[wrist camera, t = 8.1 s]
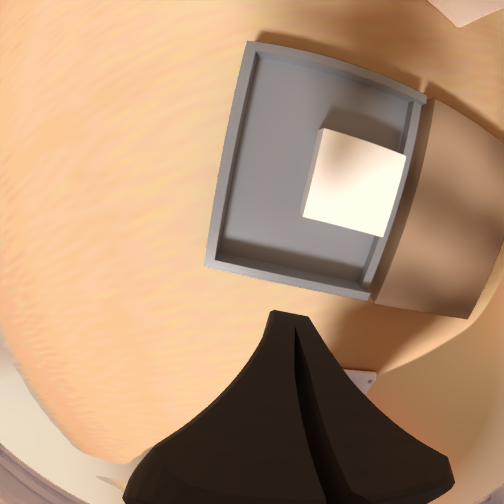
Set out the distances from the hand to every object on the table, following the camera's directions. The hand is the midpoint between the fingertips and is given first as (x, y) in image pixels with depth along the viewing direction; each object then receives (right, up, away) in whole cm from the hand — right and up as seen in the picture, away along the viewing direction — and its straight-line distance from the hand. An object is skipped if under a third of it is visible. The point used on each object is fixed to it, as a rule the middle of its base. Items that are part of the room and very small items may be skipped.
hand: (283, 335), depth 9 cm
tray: (+3, +8, +7) cm, 11 cm away
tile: (+5, +7, +6) cm, 11 cm away
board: (+14, +5, +7) cm, 16 cm away
